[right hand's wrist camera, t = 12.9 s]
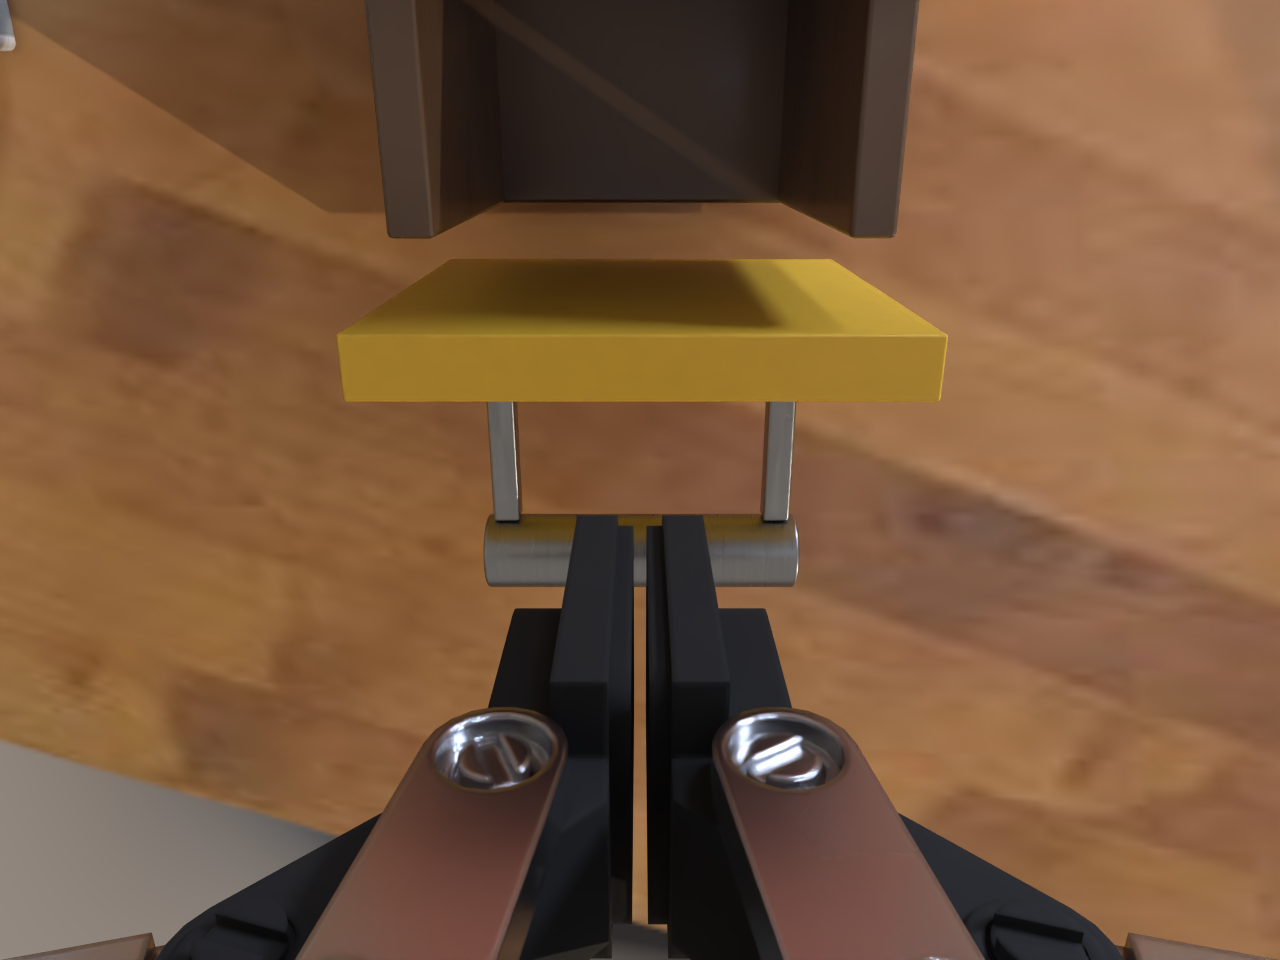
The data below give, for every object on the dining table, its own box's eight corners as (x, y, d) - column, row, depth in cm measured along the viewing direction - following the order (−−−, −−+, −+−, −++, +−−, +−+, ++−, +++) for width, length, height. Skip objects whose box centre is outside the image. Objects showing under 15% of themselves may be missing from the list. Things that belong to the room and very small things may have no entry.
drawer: (814, 490, 27) (906, 677, 18) (466, 490, 27) (376, 677, 18) (881, -402, 20) (1099, -886, 10) (401, -402, 20) (185, -886, 10)
